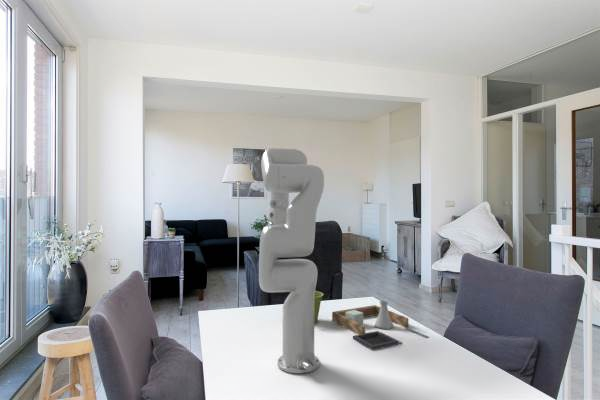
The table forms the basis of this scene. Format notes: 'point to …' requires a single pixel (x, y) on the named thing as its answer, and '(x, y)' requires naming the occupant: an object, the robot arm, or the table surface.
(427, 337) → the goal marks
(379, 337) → the frame
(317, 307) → the plant pot
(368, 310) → the wooden u-shaped frame
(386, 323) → the flask
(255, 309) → the table surface
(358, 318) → the grey green block
